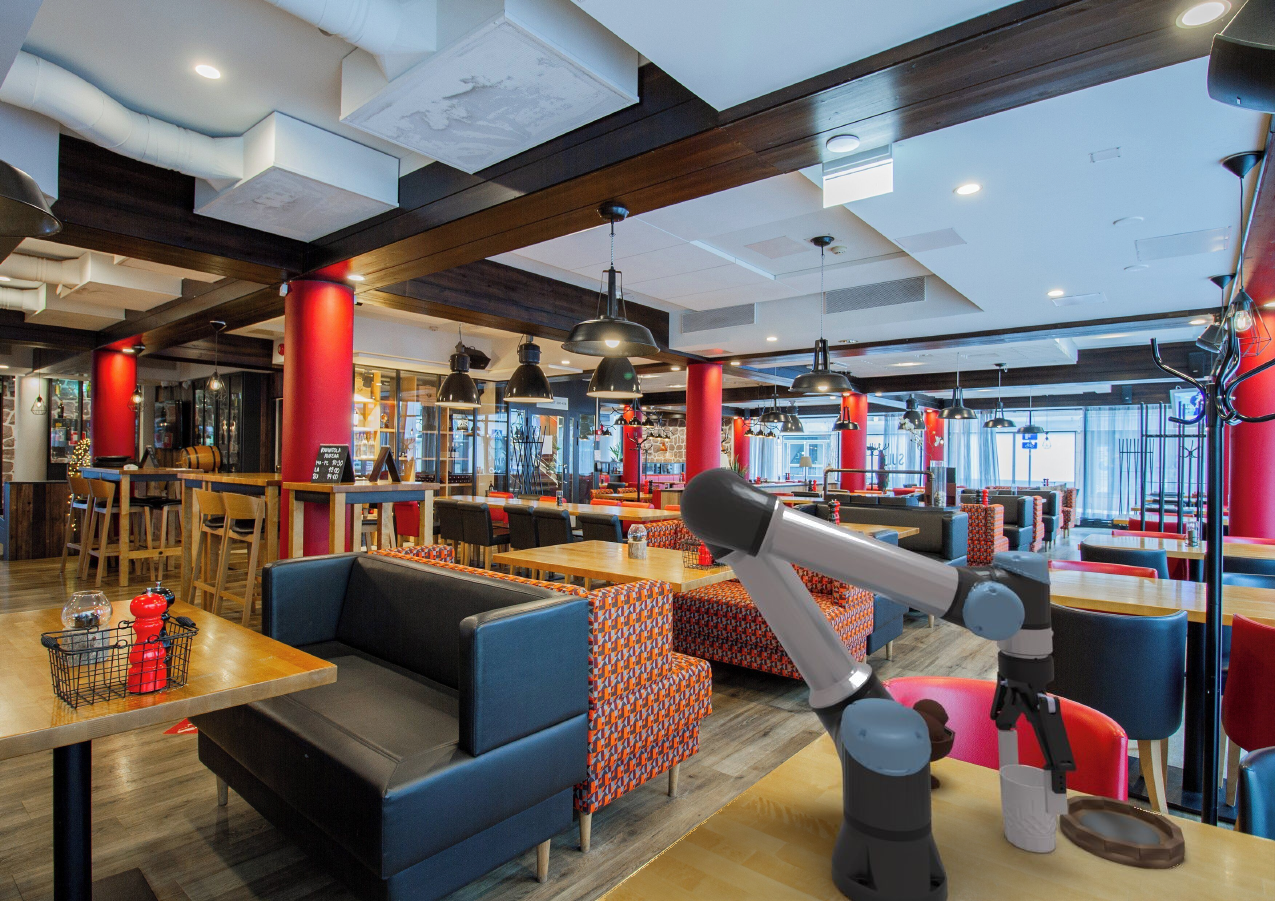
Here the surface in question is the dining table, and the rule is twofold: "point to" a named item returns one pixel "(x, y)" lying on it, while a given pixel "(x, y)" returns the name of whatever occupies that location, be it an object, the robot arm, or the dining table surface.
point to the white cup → (1026, 809)
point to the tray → (1123, 832)
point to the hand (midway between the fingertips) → (1031, 790)
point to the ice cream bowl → (936, 731)
